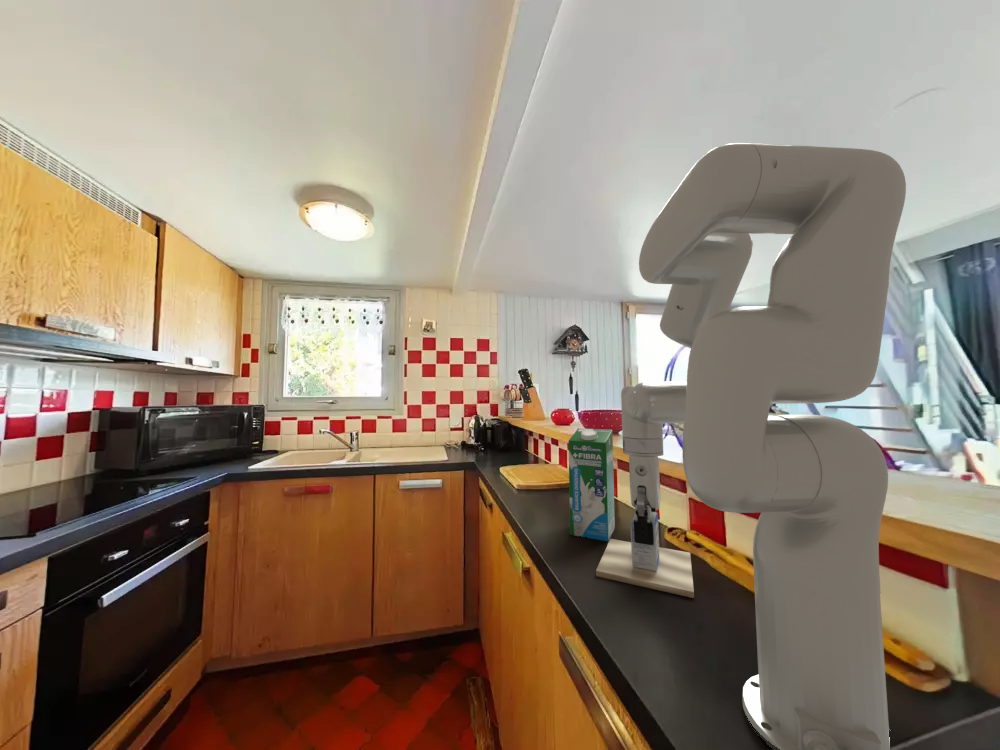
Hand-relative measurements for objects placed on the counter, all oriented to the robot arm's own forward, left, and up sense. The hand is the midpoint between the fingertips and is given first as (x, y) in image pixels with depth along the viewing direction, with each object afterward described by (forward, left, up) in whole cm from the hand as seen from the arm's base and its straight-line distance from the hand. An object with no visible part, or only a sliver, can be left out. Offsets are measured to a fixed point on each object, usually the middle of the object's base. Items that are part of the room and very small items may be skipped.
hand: (645, 534), depth 68 cm
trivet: (0, 0, -6) cm, 6 cm away
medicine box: (0, 0, -6) cm, 6 cm away
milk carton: (+13, +13, -7) cm, 20 cm away
